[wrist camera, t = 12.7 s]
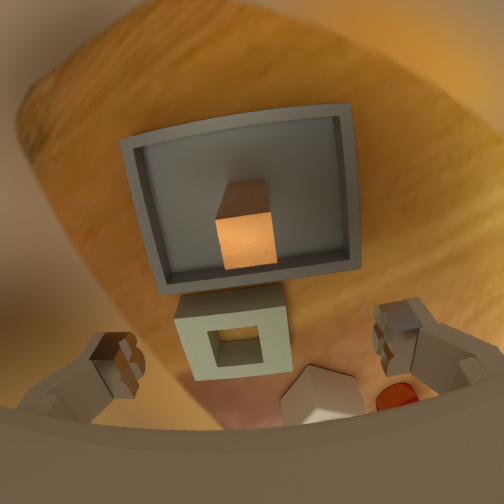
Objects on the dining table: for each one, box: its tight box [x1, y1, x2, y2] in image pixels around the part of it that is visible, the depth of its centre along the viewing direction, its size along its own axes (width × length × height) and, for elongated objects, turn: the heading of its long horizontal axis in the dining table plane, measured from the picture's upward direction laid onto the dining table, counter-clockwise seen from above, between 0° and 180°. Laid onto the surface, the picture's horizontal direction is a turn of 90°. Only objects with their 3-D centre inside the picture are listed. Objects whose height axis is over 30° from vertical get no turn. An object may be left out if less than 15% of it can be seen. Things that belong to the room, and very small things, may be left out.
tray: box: [119, 103, 361, 296], centre depth 26 cm, size 18×14×3 cm
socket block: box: [174, 283, 293, 381], centre depth 31 cm, size 10×8×4 cm
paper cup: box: [376, 383, 420, 411], centre depth 32 cm, size 8×8×14 cm
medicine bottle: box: [281, 365, 367, 426], centre depth 32 cm, size 7×7×12 cm
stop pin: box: [215, 178, 277, 270], centre depth 22 cm, size 3×3×10 cm
